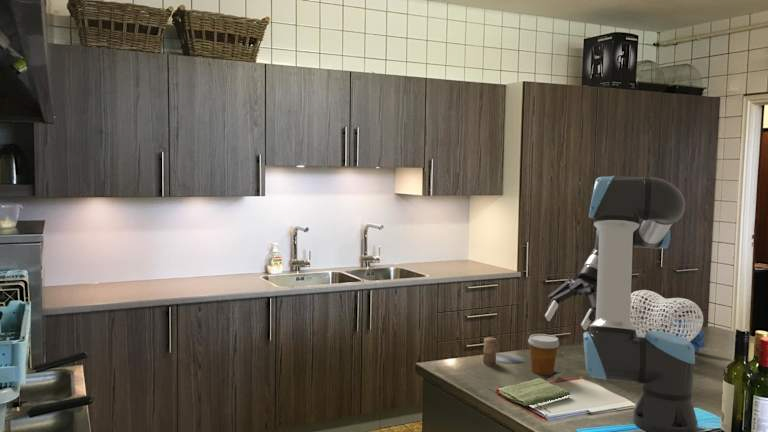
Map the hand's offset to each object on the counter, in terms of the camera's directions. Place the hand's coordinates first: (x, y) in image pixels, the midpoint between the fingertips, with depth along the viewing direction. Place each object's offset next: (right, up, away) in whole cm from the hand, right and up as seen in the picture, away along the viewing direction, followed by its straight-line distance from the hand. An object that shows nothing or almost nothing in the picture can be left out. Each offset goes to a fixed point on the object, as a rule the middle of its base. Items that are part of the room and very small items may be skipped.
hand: (564, 322), depth 211 cm
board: (-17, -14, +4) cm, 23 cm away
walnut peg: (-24, -13, +1) cm, 27 cm away
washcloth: (-15, -18, -24) cm, 34 cm away
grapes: (+50, -14, +24) cm, 57 cm away
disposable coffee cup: (-9, -16, -6) cm, 19 cm away
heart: (+37, -15, +16) cm, 43 cm away
